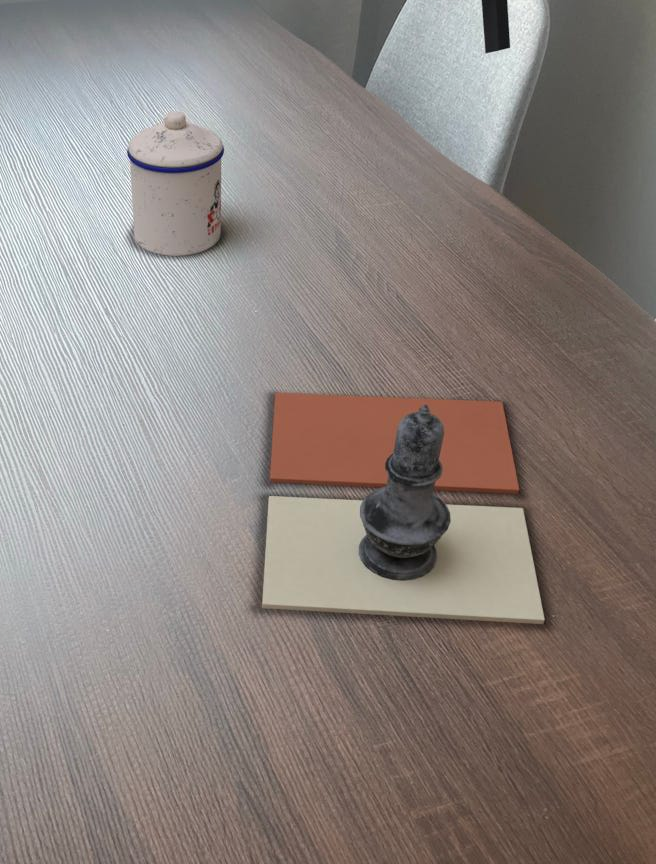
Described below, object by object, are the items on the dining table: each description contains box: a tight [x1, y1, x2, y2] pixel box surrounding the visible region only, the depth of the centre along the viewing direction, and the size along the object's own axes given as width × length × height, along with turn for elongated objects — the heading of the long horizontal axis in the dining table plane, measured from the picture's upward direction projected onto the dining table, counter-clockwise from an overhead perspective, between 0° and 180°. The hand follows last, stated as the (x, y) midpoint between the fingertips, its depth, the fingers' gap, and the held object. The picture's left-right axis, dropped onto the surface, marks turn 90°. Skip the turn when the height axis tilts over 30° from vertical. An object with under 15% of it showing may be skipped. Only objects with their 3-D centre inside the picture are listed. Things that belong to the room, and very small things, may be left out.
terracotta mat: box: [269, 392, 520, 495], centre depth 79 cm, size 18×11×1 cm, turn 84°
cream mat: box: [261, 495, 546, 625], centre depth 70 cm, size 18×11×1 cm, turn 84°
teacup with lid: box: [126, 110, 225, 257], centre depth 99 cm, size 12×9×12 cm
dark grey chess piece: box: [359, 404, 451, 581], centre depth 65 cm, size 6×6×12 cm
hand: (596, 27), depth 69 cm, fingers open, 13 cm apart
